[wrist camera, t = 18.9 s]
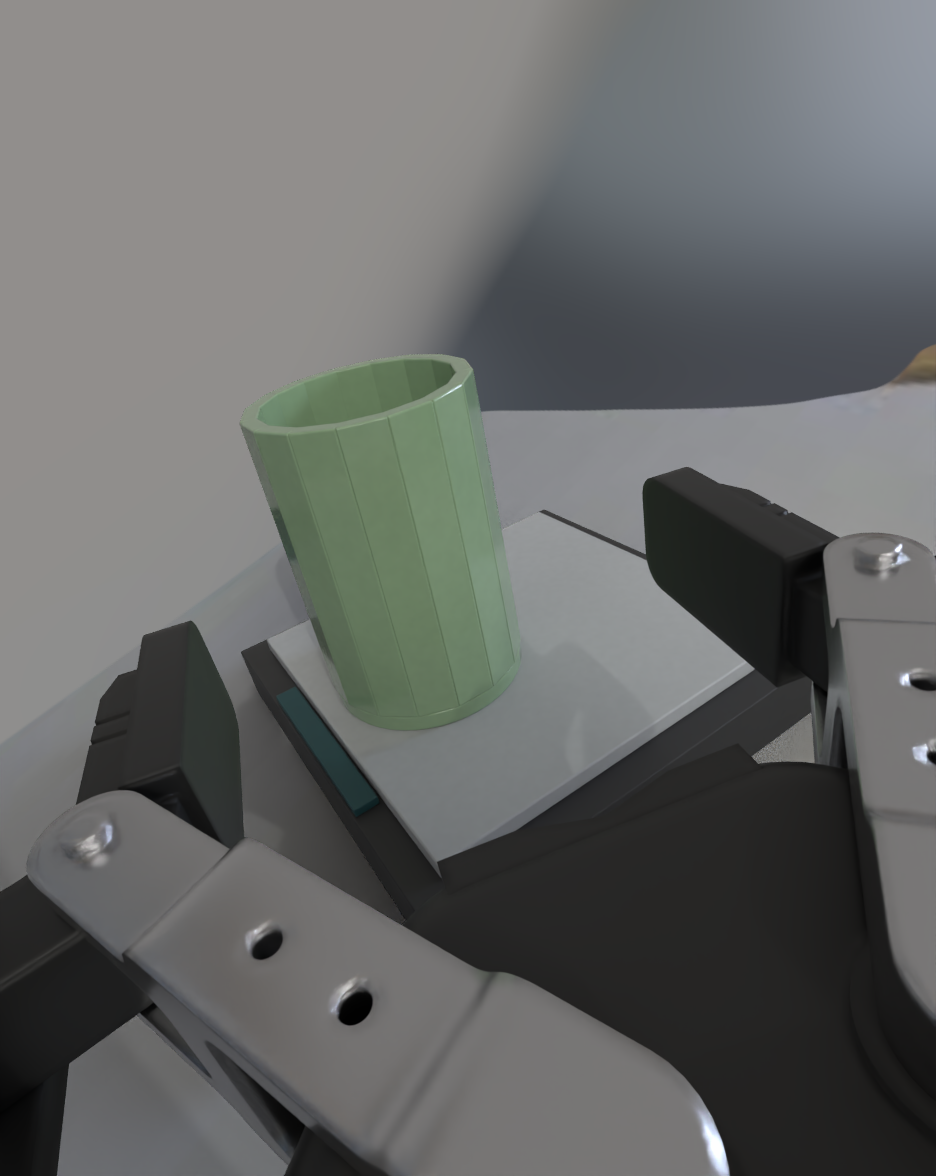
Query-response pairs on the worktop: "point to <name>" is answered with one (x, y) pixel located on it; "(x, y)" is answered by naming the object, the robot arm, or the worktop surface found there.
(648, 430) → the worktop surface
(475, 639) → the tumbler
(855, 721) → the robot arm
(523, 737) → the scale
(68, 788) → the worktop surface
